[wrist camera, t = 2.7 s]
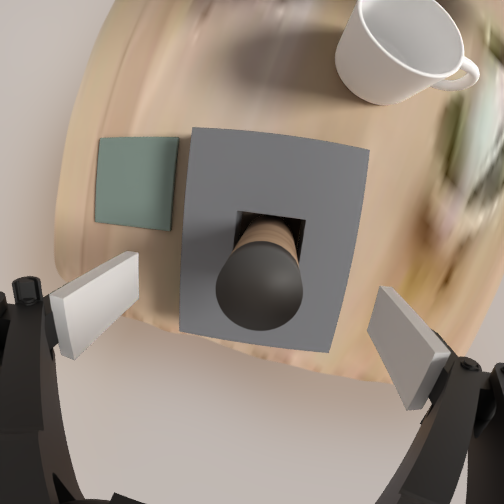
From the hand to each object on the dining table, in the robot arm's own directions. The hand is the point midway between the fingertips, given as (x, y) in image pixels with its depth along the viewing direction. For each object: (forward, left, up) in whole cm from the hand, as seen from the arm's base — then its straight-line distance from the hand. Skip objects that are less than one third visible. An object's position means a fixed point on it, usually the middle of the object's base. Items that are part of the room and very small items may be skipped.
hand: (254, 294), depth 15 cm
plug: (0, 0, -13) cm, 13 cm away
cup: (-18, +10, -13) cm, 25 cm away
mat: (-4, -14, -13) cm, 19 cm away
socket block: (0, 0, -13) cm, 13 cm away
